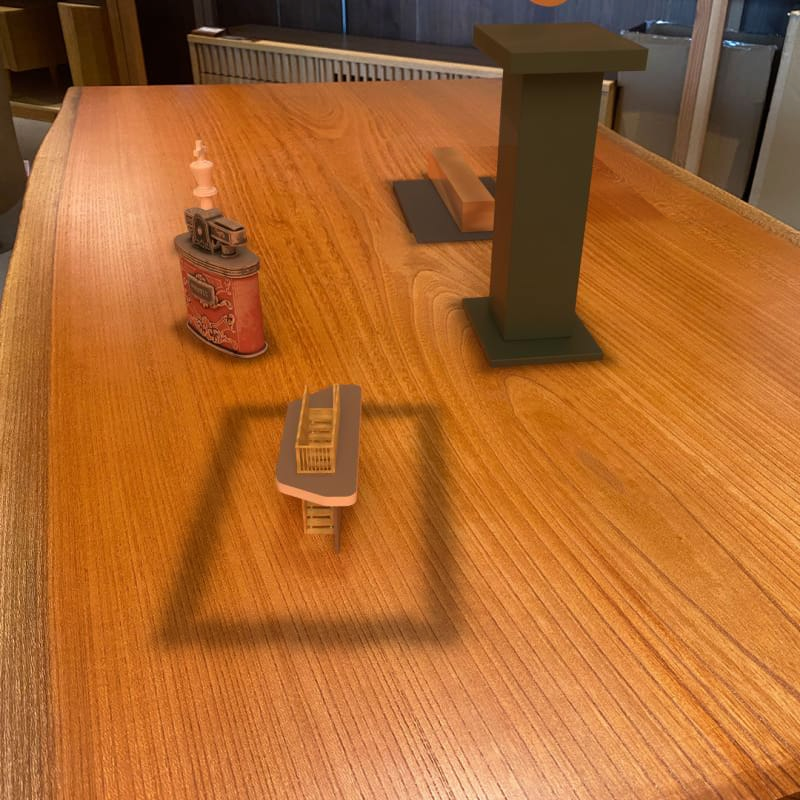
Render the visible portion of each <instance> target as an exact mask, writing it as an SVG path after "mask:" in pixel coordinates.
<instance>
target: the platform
mask: <svg viewBox="0 0 800 800" xmlns="http://www.w3.org/2000/svg"><path fill="white" fill-rule="evenodd" d="M362 390H363V389H362V386H360V385H359V384H340V383H333V385H330V386H328V387H325V388H322V389H320V390H318V391H316V392H312V393H310V394H309V388H308V384H305V385H304V389H303V396H302V397H301V398H298V399H296V400H293V401H291V402H290V403H288V405H287V408H286V414H285V418H284V419H285V420H284V425H283V431H282V436H281V440H280V445H279V446H280V447H279V451H278V457H277V462H276V467H275V474H274V475H275V476H274V477H275V485H276V486H277V489H278V491H279V492H280V493H281V494H285V495H288V496H291V497H295V498H298V499H301V508H302V521H303V531H304V532H303V534H304V535H334V547H335V548H334V550H335V555H340V545H341V531H342V520H343V507H349V506H352V505H354V504H355V503H356V502H357V499H358V481H359V461H360V445H361V444H360V443H361V442H360V441H361V423H362V422H361V421H362V404H363V403H362V402H363V394H362V393H363V391H362ZM310 422H312V423H310ZM316 422H319V423H316ZM321 422H331V423H321ZM318 431H320V432H318ZM325 431H327V432H325ZM308 507H309V508H308Z"/></svg>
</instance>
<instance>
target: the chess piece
mask: <svg viewBox="0 0 800 800" xmlns="http://www.w3.org/2000/svg"><path fill="white" fill-rule="evenodd" d="M203 143H204V142H203V140H202V139H201V140H199V139H198V140H195V143H194V144H195V149H194V150H192V154H193V155H192V156H193V157H196V158H197V160H195V161H192V162H190V164H189V169H190V171H191V173H192V174H193V177H194V179H195V182H196V183H197V187H195V188H194V189H193V191H192V195H193V196H195V197H198V198H199V199H200V208H202V209H204V210H209V209H212V208H215V207H214V203H213V198H212V197H213V196H216V195H217V194H218V193H219V191H218V190H217V187H215V186H212V185H211V182H212V178H213V177H212V176H213V172H214V167H215V165H214V163H213V162H212V161H211V160H206V159H205V153H206V152H208V148H207V145H204V144H203Z"/></svg>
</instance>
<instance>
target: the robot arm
mask: <svg viewBox="0 0 800 800" xmlns="http://www.w3.org/2000/svg"><path fill="white" fill-rule="evenodd" d="M567 1H568V0H529V2H532V3H534V4H536V5H538V6H543V7H556V6H559V5H562V4H564V3H566V2H567Z"/></svg>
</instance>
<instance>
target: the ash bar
mask: <svg viewBox="0 0 800 800" xmlns="http://www.w3.org/2000/svg"><path fill="white" fill-rule="evenodd" d="M427 176H428V178H429V179H431V181H432V183H433V184H434V186H435V188H436V189H437V191H438V193H439V194H440V196H441V198H442V200H443V201H444V203H445V205H446V206H447V208H448V210H449V211H450V213H451V215H452V217H453V218H454V220H455V222H456V223H457V225H458V227H459V228H460V230H461V232H462V233H466V232H484V231H493V224H494V208H495V200H494V198H493V197H492V196H491V194H490V193H489V192H488V190H487V189H486V188H485V186H484V185H483V184H482V182H481V181H480V180H479V178H478V177H479V176H477V174H476V173H475V172H474V170H473V169H472V167H471V166H470V165H469V163H468V162H467V161H466V160H465V158H464V157H463V156H462V154H461V153H460V151H459V150H458V149H457V148H456V146H437V147H436V146H435V147H433V146H432V147H428V148H427Z"/></svg>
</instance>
